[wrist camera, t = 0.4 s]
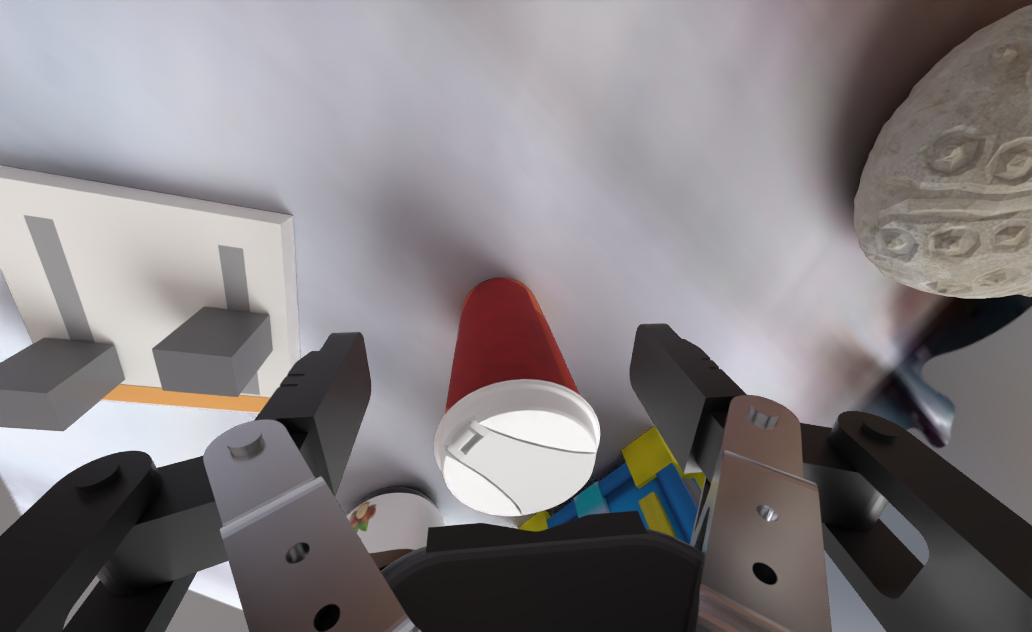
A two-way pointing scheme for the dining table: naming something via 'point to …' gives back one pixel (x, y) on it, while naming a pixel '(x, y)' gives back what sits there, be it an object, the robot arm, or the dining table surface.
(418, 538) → the spread jar
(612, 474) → the blue yellow rectangular box
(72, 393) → the breaker
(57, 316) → the panel
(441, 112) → the dining table surface
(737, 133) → the dining table surface
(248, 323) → the block
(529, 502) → the coffee cup
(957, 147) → the decorative shell
